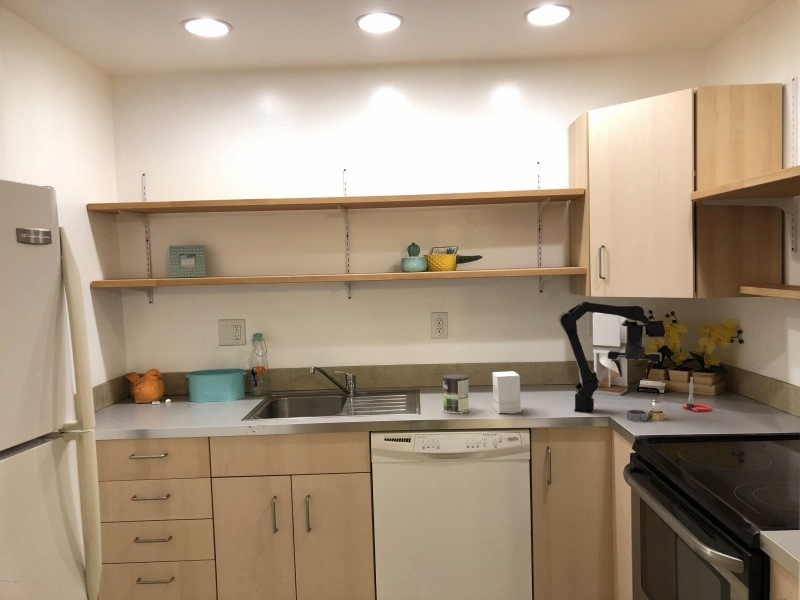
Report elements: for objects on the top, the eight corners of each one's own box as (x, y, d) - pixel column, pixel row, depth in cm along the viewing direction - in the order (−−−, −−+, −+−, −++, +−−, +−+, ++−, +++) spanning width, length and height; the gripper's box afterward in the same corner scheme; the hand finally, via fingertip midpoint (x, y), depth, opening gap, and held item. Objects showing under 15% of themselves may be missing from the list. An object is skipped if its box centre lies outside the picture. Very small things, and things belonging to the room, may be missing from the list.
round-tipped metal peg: (651, 419, 210) (651, 400, 209) (651, 417, 213) (651, 398, 212) (660, 419, 209) (660, 400, 208) (661, 417, 211) (661, 398, 211)
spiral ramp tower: (593, 392, 254) (592, 313, 251) (601, 387, 262) (600, 311, 260) (620, 395, 247) (619, 314, 244) (627, 390, 255) (626, 311, 253)
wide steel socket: (625, 420, 209) (625, 413, 209) (627, 415, 215) (627, 409, 215) (646, 422, 206) (646, 415, 206) (647, 417, 212) (647, 410, 212)
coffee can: (445, 414, 226) (444, 378, 225) (441, 407, 236) (440, 373, 235) (471, 413, 226) (470, 377, 225) (466, 406, 237) (465, 372, 236)
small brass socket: (647, 419, 209) (647, 412, 209) (648, 415, 214) (648, 409, 214) (664, 421, 207) (664, 414, 207) (665, 417, 212) (665, 410, 212)
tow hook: (698, 406, 227) (680, 407, 224) (700, 374, 226) (681, 375, 223) (716, 411, 219) (697, 413, 216) (718, 378, 218) (699, 379, 215)
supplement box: (515, 407, 233) (514, 370, 232) (521, 413, 224) (520, 375, 223) (492, 408, 232) (492, 371, 231) (498, 414, 223) (497, 376, 222)
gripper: (605, 339, 217) (605, 380, 218) (659, 341, 209) (658, 384, 210) (610, 335, 227) (609, 374, 228) (661, 337, 218) (661, 378, 219)
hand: (634, 378), depth 221 cm, fingers open, 9 cm apart
